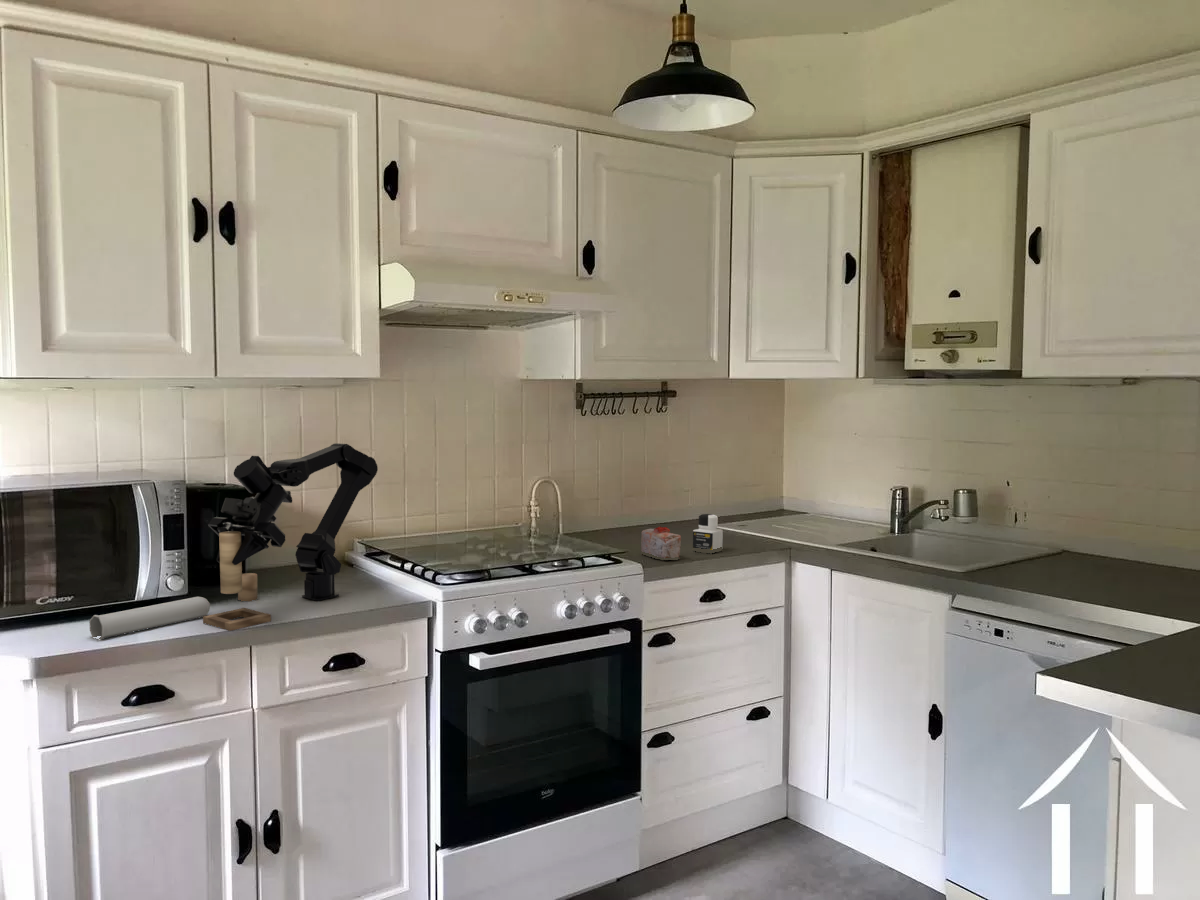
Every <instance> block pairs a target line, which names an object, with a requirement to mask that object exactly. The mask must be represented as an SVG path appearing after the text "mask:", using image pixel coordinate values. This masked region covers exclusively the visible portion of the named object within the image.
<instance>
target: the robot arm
mask: <svg viewBox="0 0 1200 900" xmlns="http://www.w3.org/2000/svg"><path fill="white" fill-rule="evenodd" d="M335 464H336V466H337V467H338V468H339V469H340V471H339V473H340V474H339V475H340V484H339V486H338V489H337V490H336V492H335V493H334V495H333V497H332V499H331V501H330V503H329V505H328V507H327V508H326V511H325V513H324V514H323V516H322V518H321V520H320V522H319V524H318V526H317V528H316V529H315V530H314V531H313V532H312V533H309V532H304V533H303V535H302V537H301V539H300V540H299V543H298V544H297V545H296V551H295V558H296V561H297V565H298V569H299V572H300V573H305V579H304V581H303V582H304V584H303V585H304V587H303V588H304V589H303V590H304V594H302V595H301V598H304V599H308V600H311V601H315V602H316V601H317V602H318V601H324V600H328V599H331V598H332V599H333V598H337V597H339V595H340V594H339V593H335V592H336V591H335V586H336V584H335V582H336V581H335V575H337V574H339V573H340V572H341V568H342V563H341V562H340V561H339V559H337V557H336V556H335V553H336V541H335V539H336V538H337V537H336V536H337V535H338V533H339V531H340V529H341V527H342V525H343V524H344V522H345V520H346V517H347V516H348V514H349V512H350V510H351V508H352V506H353V504H354V502H355V500H356V498H357V496H358V495H359V492H360V491H362V490H363V489H364V488H366V487H367V486H368V485H370V484H371V482H372V481H373V480H374V478H375V477H376V476H377V473H378V469H379V467H378V464H377V461H376V460H375V458H374V457H372V456H368V455H367V454H365V453H363V452H362V451H359V450H357V449H355V448H354V447H353V446H352V445H350V444H348V443H335V442H334V443H332V444H331V445H330V446H328V447H325V448H322V449H319V450H317V451H315V452H312V453H310V454H306V455H305V456H301V457H299V458H291V459H290V458H289V459H288V458H287V459H282V460H281V459H280V460H276V461H273V462H272V463H271V464H270V466H267V465H266V464H265V463H264V461H263V460H262V458H261V457H260V456H259V455H251V456H250V458H248V459H246V460H244V461H242V462H241V463H239V464H238V465H236V467H235V468H234V470H233V476H234V478H235V479H236V480H237V481H238V482H239V483H240V484H241V485H242V486H243V487H244V488H245V489H246V490H247V491H248V493H250V494H256V495H255V496H254V498H252V497H245V498H244V499H239V498H232V497H230V498H229V497H225V498H224V501H223V504H222V507H221V510H220V512H221V513H223V514H227V515H230V516H232V517H231V518H232V520H233V521H234V522H237V524H235V523H234V522H232V520H231V519H230V518H229V517H221V516H220V517H219V516H216V517H212V518H211V520H210V521H209V523H208V524H207V525H208V528H210V529H211V530H212V531H213V532H214V533H215V534H216V535H217V536H218V537H219V533H221V532H227V531H239V532H241V536H244V537H243V538H244V539H243V542H241V547H240V548H239V550H238V552H237V553H236V555H235V557H234V559H233V561H232V563H233V564H234V565H237V564H239V563H240V562H242V563H243V562H244V561H245V560H247V559H249V558H250V557H252V556H254V555H255V554H258V553H259V552H261V551H263V550H265V549H269V547H270V546H269V543H270V545H271V546H272V547H274V548H275V547H277V548H282V546H283V545H284V544H285V543H286V534H285V533H284V532H283V531H282V529H280V528H279V526H278V525H277V524H276V523H275V521H276V520H277V517H276V516H275V514H276V513H277V511H278V510H279V508H280V507H281V505H282V503H287V504H291V503H293V497H292V495H291V494H292V492H291V491H290V490H286V488H284V487H298V486H300V485H301V484H304V482H307V480H308V479H309V477H310V476H311V475H312V474H314V473H316V472H318V471H321V470H324V469H325V468H328V467H330V466H334V465H335ZM216 562H218V563H219V564H220V547H219V549H218V552H217V556H216Z"/></svg>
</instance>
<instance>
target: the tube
mask: <svg viewBox="0 0 1200 900" xmlns="http://www.w3.org/2000/svg"><path fill="white" fill-rule="evenodd" d="M210 608H211V603H210V602H209V601H208V599H207V598H205V597H202V596H193V597H189V598H184V599H178V600H173V601H168V602H163V603H158V604H152V605H148V606H143V607H135V608H132V609H126V610H122V611H121V610H120V611H116V612H110V613H106V614H104V613H103V614H100V615H98V614H94V615H93V616H91V618H90V619H89V631H90V635H91V637H97V636H101V637H100V638H99V639H102V640H104V639H107V637H109V638H112V637H111V636H114V637H117V636H116V635H118V636H121V635H120V634H123V635H125V634H124V633H127V634H130V633H129V632H132V633H134V632H133V631H137V632H139V631H138V630H141V631H144V630H143V629H146V630H148V629H147V628H150V629H153V628H152V627H155V628H157V627H156V626H159V627H162V626H161V625H164V626H167V625H166V624H169V625H172V624H171V623H173V624H176V623H175V622H178V623H181V622H180V621H182V622H186V621H185V620H187V621H190V620H189V619H192V620H195V619H194V618H196V619H199V617H201V618H203V616H208V613H209V612H210ZM103 638H104V639H103Z"/></svg>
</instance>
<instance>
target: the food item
mask: <svg viewBox="0 0 1200 900" xmlns="http://www.w3.org/2000/svg"><path fill="white" fill-rule="evenodd" d="M681 536H682V535H680V534H677V533H673V532H672V533H671V531H670V528H668V527H665V526H664V527H662V526H658V527H654V528H647V529H643V530H642V531H641V537H640V538H641V539H640V540H641V543H640V546H641V547H640V548H641V549H640V552H641V551H642V552H645V553H649V554H652V555H654V556H657V557H661V558H664V559H665V558H675V557H679V558H680V552H681V547H682V546H681V541H682V537H681Z"/></svg>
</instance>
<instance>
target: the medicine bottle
mask: <svg viewBox="0 0 1200 900" xmlns="http://www.w3.org/2000/svg"><path fill="white" fill-rule="evenodd" d="M718 518H719V517H718V516H717V515H716V514H713V513H702V514H700V515H698V528H696V529H693V530H692V549H693V548H701V549H710V550H713V549H717V548H720V547H722V548H723V540H724V539H723V534H724V531H723V529H721V528H718V527H719V525H718V524H719V523H718V521H719V519H718Z"/></svg>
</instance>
